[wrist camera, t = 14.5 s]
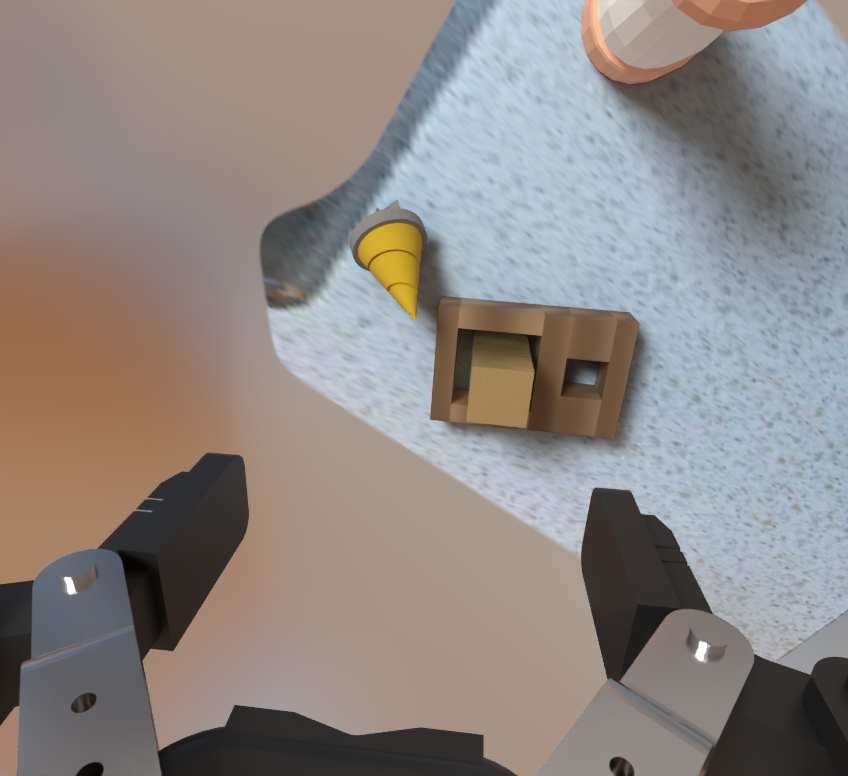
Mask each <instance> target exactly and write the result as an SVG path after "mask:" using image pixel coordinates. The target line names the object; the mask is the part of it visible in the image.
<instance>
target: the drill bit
mask: <svg viewBox="0 0 848 776" xmlns="http://www.w3.org/2000/svg"><path fill="white" fill-rule="evenodd" d="M426 243H427V234H426V231H425V228H424V226H423V223H422V221H421V219H420V218H419V217H418V216H417V215H416V214H415V213H413V212H411V211H409V210H405V209H400V206H399V204H398V201H397V200H396V201H394V202H393V203H392V204H391V205H389V206H388V207H387V208H385V209H384V210H381V211H379V209H378V208H377V209H376V212H375V213H373V214H371V215H369V216H367V217H366V218H365V219H363V220H362V221H361V222H360V223H359V224H358V225H357V226H356V227H355V229H354V230H353V232H352V234H351V237H350V248H351V251H352V254H353V258H354V260H355V262H356V263H357V264H358V265H359V266H360V267H361V268H363V269H365V270H368V271H370V272H371V273H372V274H373V275H374V276H375V277H376V278H377V279H378V281H379V282H380V283H381V284H382V285H383V286H384V287H385V288H386V290H387V291H389V293H390V294H391V295H392V296H393V297H394V299H395V300H396V301H397V302H398V303H399V304H400V305H401V306H402V307H403V309H404V310H405V311H406V312H409V313H410V314H409V315H410V316H411V317H412V319H413V320H416V312H417V300H418V287H419V274H420V262H421V253H422V252H423V250H424V249H425V246H426Z"/></svg>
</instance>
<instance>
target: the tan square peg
mask: <svg viewBox="0 0 848 776" xmlns="http://www.w3.org/2000/svg"><path fill="white" fill-rule="evenodd" d="M533 379H534V368H533V363H532V358H531V353H530V349H529V344H528V339H527V335H516V334H505V333H495V332H484V331H475V333H474V343H473V352H472V362H471V371H470V382H469V394H468V406H467V418H466V422H472V423H482V424H492V425H501V426H511V427H520V428H526V425H527V418H528V412H529V405H530V399H531V392H532V385H533Z"/></svg>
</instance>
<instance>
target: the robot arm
mask: <svg viewBox="0 0 848 776" xmlns="http://www.w3.org/2000/svg"><path fill="white" fill-rule="evenodd" d="M248 518H249V509H248V497H247V487H246V476H245V466H244V461H243V458H242V457H241V456H240V455H231V454H219V453H206V454H205V455H204V456H203V457H202V458H201V459H200V460H199V462H197V464H196V465H195V466H194V467H193V468H192V469H191V470H190V471H189V472H180V473H179V474H177V475H175V476H173V477H171V478H169V479H168V480H166V481H164V482H162V483H161V484H160V485H159V486H158V487H157V488H156V489H155V490H154V491H153V492H152V493H151V494H150V495H149V496H148V499H147V500H144V501H143V502H142V503H141V504H140V505H139V507H138V508H137V511H134V512H133V513H132V514H131V515H130V516H129V517H128V518H127V519H126V520H125V521H124V522H123V523H122V524H121V525H120V526H119V527H118V528H117V529H116V530H115V531H114V532H113V533H112V534H111V535H110V536H109V537H108V538H107V539H106V540H105V541H104V542H103V543H102V545H101V546H100V547H99V548H98V549H88V550H82V551H78V552H74V553H71V554H68V555H66V556H63V557H61V558H60V559H57V560H55V561H54V562H52V563H51V564H49V565H48V566H46V567H45V568H44V569H43V570H42V571H41V572H40V573H39V574H38V575H37V577H36V578H35V580H32V581H25V582H16V583H8V584H0V725H1V724H2V723H3V721H4V720H5V719H6V717H7V716H8V715H9V714H10V712H11V711H12V710H13V709H14V707H16V706H19V725H18V751H17V752H18V753H17V776H517V775H516V774H514V773H513V772H511V771H510V770H509V769H507V768H505V767H503V766H501V765H499V764H498V763H496V762H494V761H491V760H489V759H486V758H484V757H483V735H478V734H471V733H462V732H454V731H446V730H437V729H429V728H413V729H405V730H397V731H389V732H382V733H374V734H366V735H350V734H347V733H345V732H342V731H340V730H337V729H335V728H332V727H330V726H327V725H325V724H322V723H320V722H317V721H315V720H312V719H310V718H307V717H305V716H302V715H300V714H297V713H295V712H288V711H280V710H272V709H263V708H255V707H247V706H238V705H235V706H234V708H233V710H232V712H231V714H230V717H229V719H228V721H227V723H226V726H225V727H218V728H214V729H210V730H206V731H202V732H199V733H196V734H194V735H191V736H188V737H185V738H183V739H181V740H179V741H177V742H175V743H172V744H170V745H169V746H167V747H165V748H163V749H162V750H159V745H158V740H157V734H156V729H155V724H154V719H153V713H152V708H151V703H150V698H149V693H148V687H147V682H146V677H145V672H144V667H143V662H142V661H143V659H144V658H145V656H146V655H147V653H148V652H149V650H150V649H159V650H168V651H173V650H174V649H175V647H176V646H177V644H178V642H179V641H180V639H181V638H182V636H183V634H184V633H185V631H186V630H187V628H188V626H189V625H190V623H191V622H192V620H193V618H194V617H195V615H196V614H197V612H198V610H199V609H200V607H201V605H202V604H203V602H204V601H205V599H206V598H207V596H208V594H209V592H210V591H211V589H212V588H213V586H214V585H215V583H216V581H217V580H218V578H219V577H220V575H221V573H222V572H223V570H224V569H225V567H226V565H227V564H228V562H229V560H230V559H231V557H232V556H233V554H234V552H235V551H236V549H237V548H238V546H239V544H240V543H241V541H242V540H243V538H244V535H245V533H246V529H247V525H248ZM581 565H582V573H583V578H584V582H585V586H586V591H587V595H588V599H589V603H590V607H591V612H592V616H593V620H594V624H595V628H596V633H597V636H598V641H599V645H600V650H601V654H602V658H603V662H604V666H605V671H606V675H607V679H608V680H607V681H606V682H605V684H604V685H603V686H602V687H601V689H600V690H599V691H598V693H597V694H596V696H595V697H594V698H593V699H592V701H591V702H590V703H589V705H588V706H587V707H586V709H585V710H584V712H583V713H582V714H581V716H580V717H579V718H578V720H577V721H576V722H575V724H574V725H573V726H572V728H571V729H570V731H569V732H568V733H567V734H566V736H565V737H564V739H563V740H562V741H561V743H560V744H559V745H558V747H557V748H556V749H555V751H554V752H553V754H552V755H551V756H550V757H549V759H548V760H547V761H546V763H545V764H544V766H543V767H542V768H541V770H540V771H539V772H538V774H537V775H536V776H848V659H847V658H842V657H828V658H824V659H822V660H820V661H818V662H817V663H816V664H815V666H814V668H813V671H812V673H811V675H809V674H806V673H803V672H801V671H797V670H794V669H792V668H789V667H786V666H783V665H780V664H777V663H774V662H771V661H769V660H766V659H764V658H761V657H759V656H757V655H755V654H754V653H753V649H752V647H751V645H750V643H749V642H748V640H747V639H746V638H745V637H744V635H743V634H742V633H741V632H740V631H739V630H737V629H736V628H735V627H734V626H733V625H731V624H730V623H728V622H727V621H725V620H723V619H721V618H720V617H717V616H715V615H713V613H712V611H711V609H710V607H709V605H708V603H707V601H706V599H705V597H704V595H703V593H702V591H701V589H700V587H699V585H698V583H697V581H696V579H695V577H694V575H693V573H692V571H691V569H690V567H689V566H687V561H686V559H685V557H684V555H683V553H682V552H680V547H679V545H678V543H677V541H676V539H675V537H674V535H673V533H672V531H671V530H670V529H669V528H668V527H666V526H665V525H664V524H663V523H662V522H661V521H660V520H659V519H658V518H657V517H656V516H654V515H644V514H641V513H640V511H639V509H638V506H637V504H636V502H635V499H634V497H633V495H632V493H631V492H630V491H629V490H618V489H607V488H594V490H593V492H592V495H591V500H590V506H589V511H588V516H587V522H586V527H585V532H584V538H583V543H582V552H581Z"/></svg>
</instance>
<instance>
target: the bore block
mask: <svg viewBox="0 0 848 776" xmlns="http://www.w3.org/2000/svg"><path fill="white" fill-rule="evenodd" d="M459 328H462V329H473V330H484V331H495V332H506V333H517V334H528V335H537V338H536V345H535V352H534V359H533V368H534V379H533V385H532V392H531V399H530V405H529V412H528V418H527V425H526V428H520V427H511V426H501V425H492V424H482V423H472V422H466V418H467V406H468V394H469V390H459V389H453V388H454V377H455V366H456V355H457V344H458V333H459ZM638 329H639V322H638V321H637V320H636V319H635V318H634V317H633V316H632V315H631V314H630V313H629V312H617V311H606V310H594V309H583V308H571V307H560V306H548V305H537V304H525V303H514V302H502V301H491V300H479V299H468V298H456V297H445V296H442V298H441V301H440V304H439V309H438V323H437V336H436V349H435V363H434V376H433V390H432V403H431V416H430V420H439V421H448V422H458V423H468V424H478V425H487V426H497V427H507V428H516V429H526V430H536V431H545V432H555V433H565V434H575V435H584V436H594V437H604V438H613V439H614V438H615V434H616V429H617V425H618V420H619V416H620V411H621V406H622V402H623V397H624V393H625V388H626V384H627V379H628V374H629V370H630V365H631V361H632V356H633V351H634V347H635V342H636V338H637V333H638ZM567 358H570V359H580V360H591V361H599V365H598V370H597V375H596V380H595V385H588V384H578V383H567V382H563V379H564V373H565V367H566V361H567Z"/></svg>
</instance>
